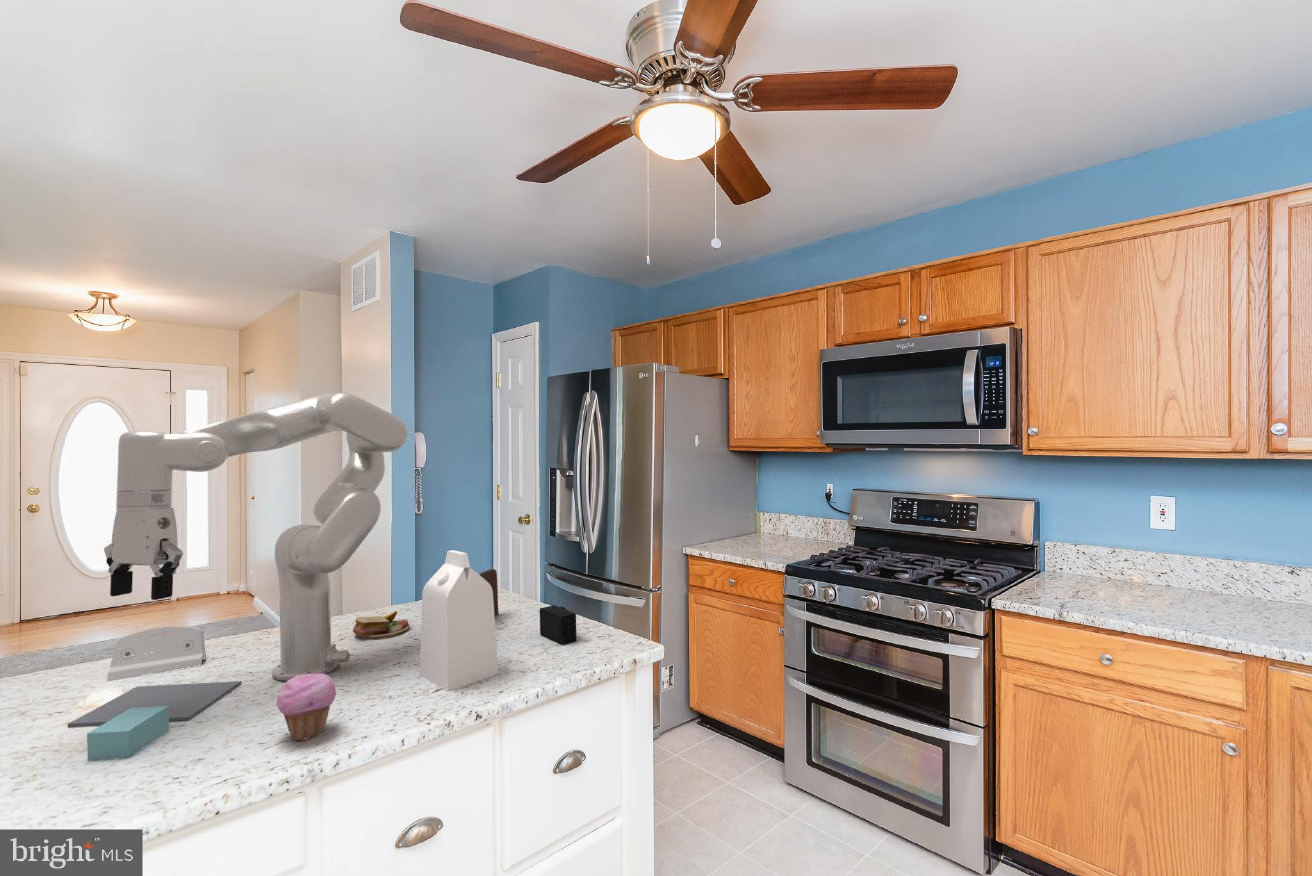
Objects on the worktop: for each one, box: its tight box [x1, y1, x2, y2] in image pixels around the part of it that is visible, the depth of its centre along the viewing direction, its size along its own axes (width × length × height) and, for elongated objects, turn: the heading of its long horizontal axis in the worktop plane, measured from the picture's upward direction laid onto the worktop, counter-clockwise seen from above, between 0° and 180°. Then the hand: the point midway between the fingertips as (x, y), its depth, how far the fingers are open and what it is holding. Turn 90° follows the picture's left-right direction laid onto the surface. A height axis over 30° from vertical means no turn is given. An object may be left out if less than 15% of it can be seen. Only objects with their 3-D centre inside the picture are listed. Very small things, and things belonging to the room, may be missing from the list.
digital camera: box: [539, 604, 577, 646], centre depth 150 cm, size 10×5×7 cm, turn 41°
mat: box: [67, 680, 242, 728], centre depth 115 cm, size 20×16×1 cm
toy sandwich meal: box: [352, 610, 411, 640], centre depth 156 cm, size 12×14×5 cm
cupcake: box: [276, 673, 337, 742], centre depth 102 cm, size 9×9×10 cm
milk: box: [419, 549, 499, 692], centre depth 127 cm, size 12×12×26 cm
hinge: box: [107, 625, 207, 682], centre depth 134 cm, size 17×5×10 cm, turn 119°
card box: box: [86, 706, 170, 761], centre depth 99 cm, size 6×9×4 cm, turn 6°
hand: (141, 596), depth 107 cm, fingers open, 9 cm apart
